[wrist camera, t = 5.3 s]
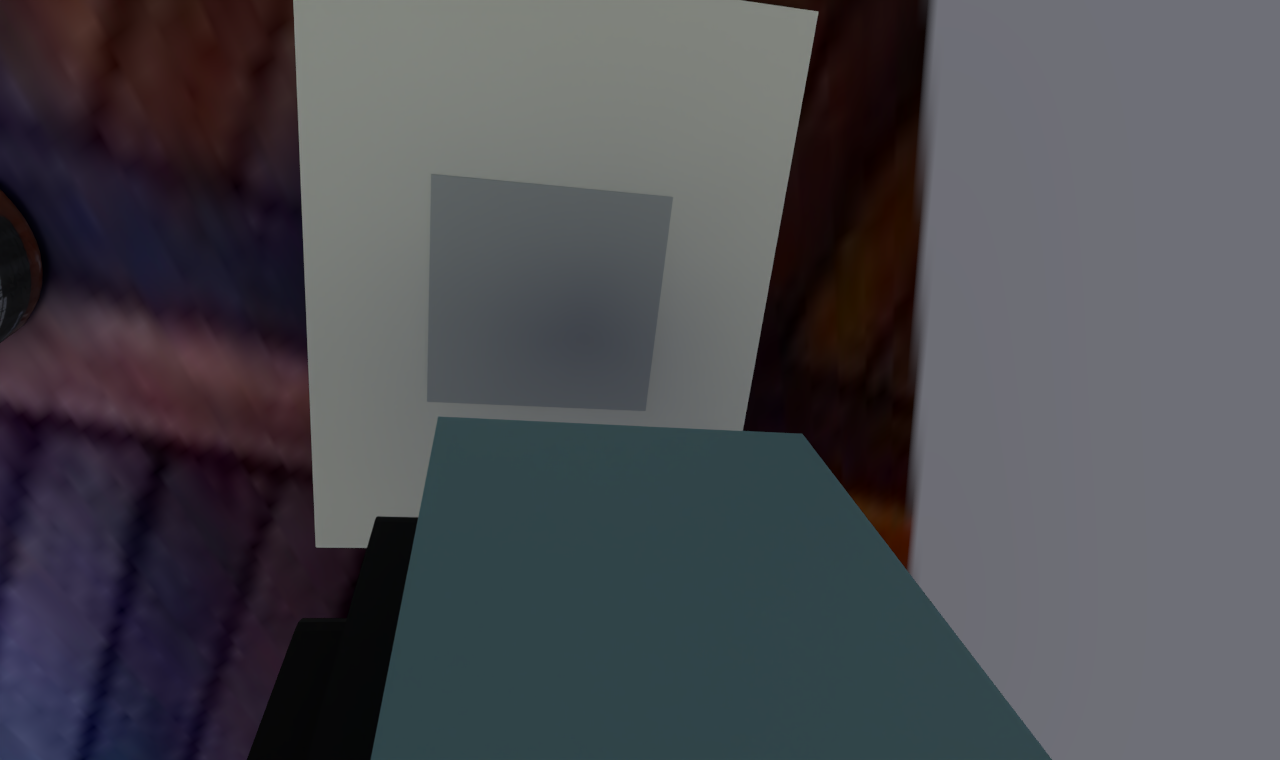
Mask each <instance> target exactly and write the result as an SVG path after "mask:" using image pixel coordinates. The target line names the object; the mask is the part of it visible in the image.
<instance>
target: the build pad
mask: <svg viewBox="0 0 1280 760" xmlns="http://www.w3.org/2000/svg"><path fill="white" fill-rule="evenodd" d="M293 4H294V29H295V53H296V78H297V102H298V127H299V151H300V175H301V200H302V224H303V249H304V273H305V298H306V322H307V346H308V371H309V395H310V420H311V444H312V469H313V493H314V517H315V542H316V547H323V548H367V546H368V542H369V539H370V535H371V532H372V528H373V525H374V521H375V519H376V517H377V516H384V517H418V516H419V511H420V506H421V501H422V496H423V491H424V486H425V481H426V476H427V470H428V465H429V460H430V455H431V450H432V445H433V440H434V435H435V430H436V425H437V420H438V416H439V417H460V418H481V419H502V420H523V421H544V422H565V423H586V424H607V425H627V426H648V427H669V428H690V429H711V430H732V431H743V427H744V421H745V416H746V410H747V405H748V399H749V394H750V388H751V382H752V377H753V371H754V366H755V360H756V355H757V349H758V344H759V338H760V333H761V327H762V322H763V316H764V311H765V305H766V299H767V294H768V288H769V283H770V277H771V272H772V266H773V261H774V255H775V250H776V244H777V239H778V233H779V228H780V222H781V216H782V211H783V205H784V200H785V194H786V189H787V183H788V178H789V172H790V167H791V161H792V156H793V150H794V144H795V139H796V133H797V128H798V122H799V117H800V111H801V106H802V100H803V95H804V89H805V84H806V78H807V73H808V67H809V61H810V56H811V50H812V45H813V39H814V34H815V28H816V23H817V17H818V12H817V11H810V10H804V9H797V8H790V7H783V6H776V5H769V4H762V3H756V2H749V1H742V0H293Z"/></svg>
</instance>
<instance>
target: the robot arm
mask: <svg viewBox="0 0 1280 760" xmlns="http://www.w3.org/2000/svg"><path fill="white" fill-rule="evenodd" d="M417 521H418V517H384V516H377V517H376V519H375V521H374V525H373V528H372V532H371V535H370V539H369V542H368V546H367V549H366V553H365V556H364V560H363V563H362V567H361V570H360V574H359V577H358V581H357V584H356V588H355V591H354V595H353V598H352V602H351V605H350V609H349V612H348V616H347V618H302V619H301V620H300V621H299V622H298V625H297V627H296V629H295V631H294V634H293V636H292V639H291V642H290V645H289V647H288V650H287V653H286V655H285V658H284V661H283V664H282V666H281V669H280V672H279V674H278V677H277V680H276V682H275V685H274V688H273V691H272V693H271V696H270V699H269V701H268V704H267V707H266V710H265V712H264V715H263V718H262V720H261V723H260V726H259V728H258V731H257V734H256V737H255V739H254V742H253V745H252V747H251V750H250V753H249V756H248V758H247V760H371V755H372V750H373V745H374V740H375V735H376V730H377V725H378V720H379V715H380V710H381V705H382V699H383V694H384V689H385V684H386V679H387V674H388V669H389V664H390V659H391V654H392V649H393V643H394V638H395V633H396V628H397V623H398V618H399V613H400V608H401V603H402V598H403V593H404V587H405V582H406V577H407V572H408V567H409V562H410V557H411V552H412V547H413V542H414V537H415V532H416V526H417Z"/></svg>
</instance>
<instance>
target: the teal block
mask: <svg viewBox="0 0 1280 760" xmlns="http://www.w3.org/2000/svg"><path fill="white" fill-rule="evenodd" d="M371 760H1052V759H1051V758H1050V757H1049V755H1048V754H1047V753H1046V752H1045V750H1044V749H1043V748H1042V746H1041V745H1040V743H1039V742H1038V741H1037V740H1036V738H1035V737H1034V736H1033V734H1032V733H1031V732H1030V730H1029V729H1028V728H1027V727H1026V725H1025V724H1024V723H1023V721H1022V720H1021V719H1020V717H1019V716H1018V715H1017V713H1016V712H1015V711H1014V710H1013V708H1012V707H1011V706H1010V704H1009V703H1008V702H1007V701H1006V699H1005V698H1004V697H1003V695H1002V694H1001V693H1000V691H999V690H998V689H997V687H996V686H995V685H994V684H993V682H992V681H991V680H990V678H989V677H988V676H987V674H986V673H985V672H984V670H983V669H982V668H981V667H980V665H979V664H978V663H977V661H976V660H975V659H974V657H973V656H972V655H971V653H970V652H969V651H968V650H967V648H966V647H965V646H964V644H963V643H962V642H961V640H960V639H959V638H958V636H957V635H956V634H955V633H954V631H953V630H952V629H951V627H950V626H949V625H948V623H947V622H946V621H945V619H944V618H943V617H942V616H941V614H940V613H939V612H938V610H937V609H936V608H935V606H934V605H933V604H932V602H931V601H930V600H929V599H928V597H927V596H926V595H925V593H924V592H923V591H922V590H921V588H920V587H919V586H918V584H917V583H916V582H915V580H914V579H913V578H912V576H911V575H910V574H909V572H908V571H907V570H906V569H905V567H904V566H903V565H902V563H901V562H900V561H899V559H898V558H897V557H896V556H895V554H894V553H893V552H892V550H891V549H890V548H889V546H888V545H887V544H886V542H885V541H884V540H883V539H882V537H881V536H880V535H879V533H878V532H877V531H876V529H875V528H874V527H873V525H872V524H871V523H870V522H869V520H868V519H867V518H866V516H865V515H864V514H863V512H862V511H861V510H860V509H859V507H858V506H857V505H856V503H855V502H854V501H853V499H852V498H851V497H850V495H849V494H848V493H847V492H846V490H845V489H844V488H843V486H842V485H841V484H840V482H839V481H838V480H837V478H836V477H835V476H834V475H833V473H832V472H831V471H830V469H829V468H828V467H827V465H826V464H825V463H824V462H823V460H822V459H821V458H820V456H819V455H818V454H817V452H816V451H815V450H814V448H813V447H812V446H811V445H810V443H809V442H808V441H807V439H806V438H805V437H804V435H803V434H795V433H774V432H753V431H732V430H711V429H690V428H669V427H648V426H627V425H607V424H586V423H565V422H544V421H523V420H502V419H481V418H460V417H439V416H438V420H437V425H436V430H435V435H434V440H433V445H432V450H431V455H430V460H429V465H428V470H427V476H426V481H425V486H424V491H423V496H422V501H421V506H420V511H419V516H418V521H417V526H416V532H415V537H414V542H413V547H412V552H411V557H410V562H409V567H408V572H407V577H406V582H405V587H404V593H403V598H402V603H401V608H400V613H399V618H398V623H397V628H396V633H395V638H394V643H393V649H392V654H391V659H390V664H389V669H388V674H387V679H386V684H385V689H384V694H383V699H382V705H381V710H380V715H379V720H378V725H377V730H376V735H375V740H374V745H373V750H372V755H371Z"/></svg>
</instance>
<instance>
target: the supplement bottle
mask: <svg viewBox="0 0 1280 760" xmlns="http://www.w3.org/2000/svg"><path fill="white" fill-rule="evenodd" d="M42 277H43V272H42V262H41V255H40V250H39V247H38V245H37V241H36V239H35V237H34V235H33V232H32V230H31V229H30V227H29V225H28V223H27V221H26V220H25V218H24V217H23V215H22V214H21V212H20V211H19V210H18V209H17V208H16V206H15V205H14V204H13V202H12V201H11V200H10V199H9V198H8V197H7V196H6V195H5V194H4V193H3V192H2V191H1V190H0V343H1V342H2V341H3V340H5V339H6V338H7V337H9V336H10V335H12V334H13V333H15V332H16V331H17V330H18V329H19V328H20V327H22V326H23V325H24V324H25V323H26V321H27V320H28V318H29V316H30V314H31V313H32V311H33V310H34V308H35V305H36V303H37V301H38V300H39V297H40V291H41V287H42Z"/></svg>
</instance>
